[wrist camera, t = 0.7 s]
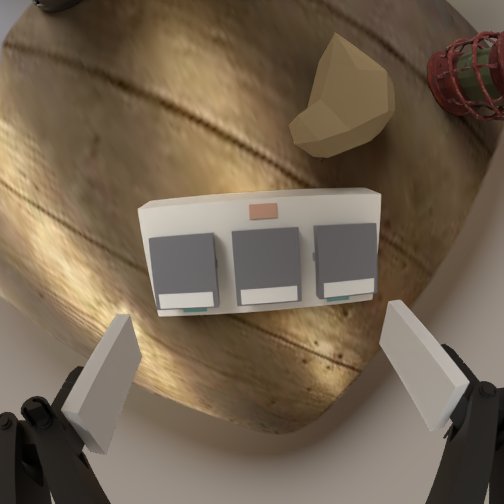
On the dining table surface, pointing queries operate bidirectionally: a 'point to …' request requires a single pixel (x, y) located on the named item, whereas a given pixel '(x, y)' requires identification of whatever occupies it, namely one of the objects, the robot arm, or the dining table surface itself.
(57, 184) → the dining table surface
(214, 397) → the dining table surface
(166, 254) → the rocker
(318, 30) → the dining table surface
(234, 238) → the rocker middle
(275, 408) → the dining table surface
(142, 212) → the console
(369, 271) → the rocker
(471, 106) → the lantern
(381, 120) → the low-poly potato
